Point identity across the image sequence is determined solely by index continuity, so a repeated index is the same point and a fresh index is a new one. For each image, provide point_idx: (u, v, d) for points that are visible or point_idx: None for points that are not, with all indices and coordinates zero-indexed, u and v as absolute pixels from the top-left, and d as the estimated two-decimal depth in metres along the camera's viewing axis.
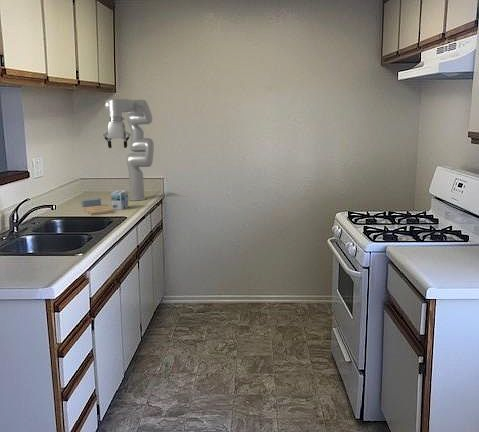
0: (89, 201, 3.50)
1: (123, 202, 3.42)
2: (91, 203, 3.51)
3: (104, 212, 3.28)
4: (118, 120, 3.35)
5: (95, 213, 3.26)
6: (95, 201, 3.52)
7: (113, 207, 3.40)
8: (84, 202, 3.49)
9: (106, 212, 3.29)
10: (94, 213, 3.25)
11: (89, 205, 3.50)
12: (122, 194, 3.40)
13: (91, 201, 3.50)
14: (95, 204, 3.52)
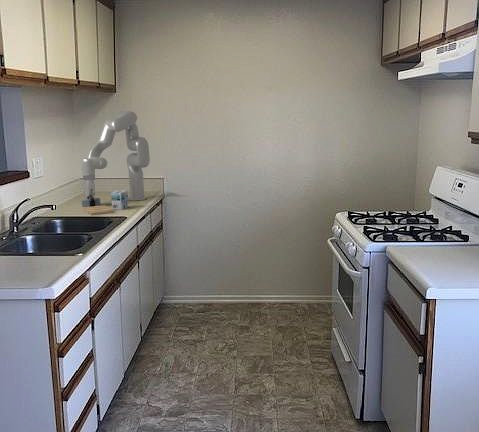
0: (88, 201, 3.50)
1: (123, 202, 3.42)
2: None
3: (104, 212, 3.28)
4: None
5: (95, 213, 3.26)
6: None
7: (113, 207, 3.40)
8: (83, 202, 3.49)
9: (106, 212, 3.29)
10: (94, 213, 3.25)
11: (88, 205, 3.50)
12: (122, 194, 3.40)
13: None
14: None
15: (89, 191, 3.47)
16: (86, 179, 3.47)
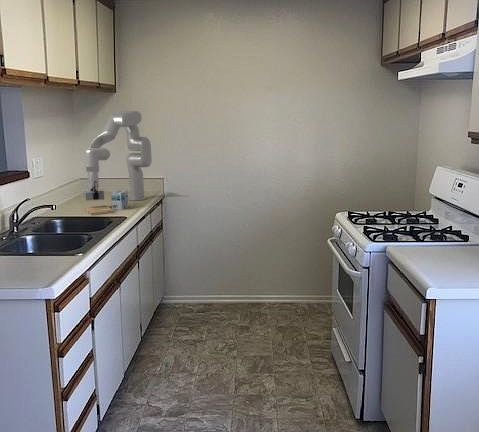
0: (92, 193, 3.38)
1: (123, 202, 3.42)
2: None
3: (104, 212, 3.28)
4: None
5: (95, 213, 3.26)
6: (98, 193, 3.39)
7: (113, 207, 3.40)
8: (86, 194, 3.37)
9: (106, 212, 3.29)
10: (94, 213, 3.25)
11: (92, 197, 3.38)
12: (122, 194, 3.40)
13: None
14: None
15: (93, 183, 3.35)
16: (90, 171, 3.35)
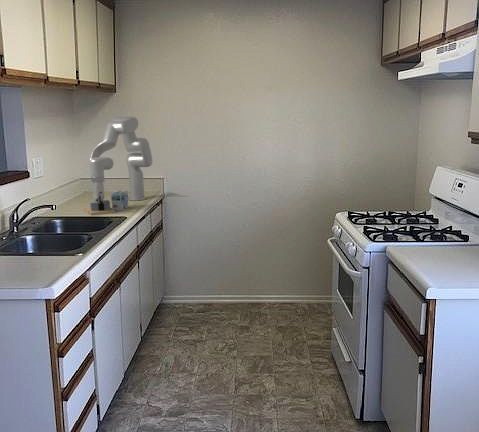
0: (97, 203, 3.29)
1: (123, 202, 3.42)
2: None
3: (104, 212, 3.28)
4: None
5: (95, 213, 3.26)
6: (104, 203, 3.30)
7: (113, 207, 3.40)
8: (92, 204, 3.28)
9: (106, 212, 3.29)
10: (94, 213, 3.25)
11: (97, 207, 3.29)
12: (122, 194, 3.40)
13: None
14: (104, 206, 3.31)
15: (98, 194, 3.26)
16: (95, 181, 3.26)
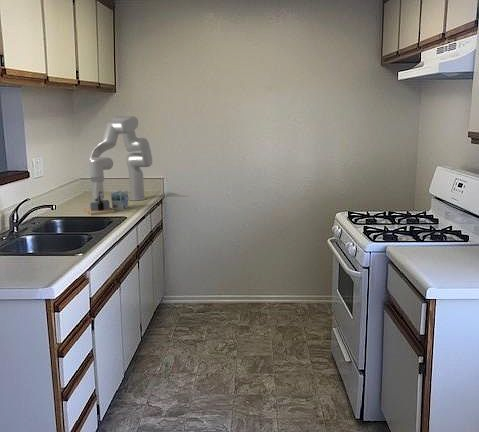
0: (97, 203, 3.30)
1: (123, 202, 3.42)
2: None
3: (104, 212, 3.28)
4: None
5: (95, 213, 3.26)
6: (103, 203, 3.31)
7: (113, 207, 3.40)
8: (92, 204, 3.29)
9: (106, 212, 3.29)
10: (94, 213, 3.25)
11: (97, 207, 3.30)
12: (122, 194, 3.40)
13: None
14: None
15: (98, 193, 3.27)
16: (94, 181, 3.27)
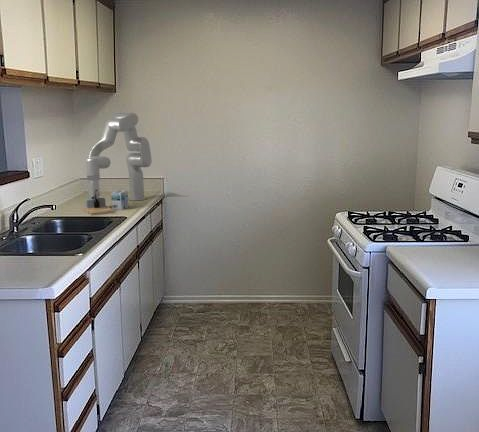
0: (93, 201, 3.39)
1: (123, 202, 3.42)
2: None
3: (104, 212, 3.28)
4: None
5: (95, 213, 3.26)
6: (99, 201, 3.41)
7: (113, 207, 3.40)
8: (88, 202, 3.38)
9: (106, 212, 3.29)
10: (94, 213, 3.25)
11: (93, 205, 3.40)
12: (122, 194, 3.40)
13: None
14: None
15: (93, 192, 3.36)
16: (90, 179, 3.36)
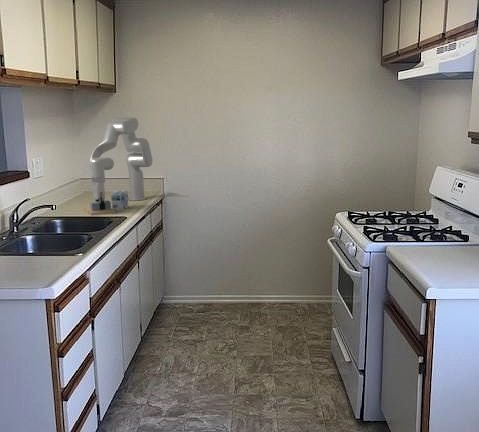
0: (98, 204, 3.28)
1: (123, 202, 3.42)
2: None
3: (104, 212, 3.28)
4: None
5: (95, 213, 3.26)
6: (105, 204, 3.29)
7: (113, 207, 3.40)
8: (93, 205, 3.27)
9: (106, 212, 3.29)
10: (94, 213, 3.25)
11: (98, 208, 3.28)
12: (122, 194, 3.40)
13: None
14: (105, 207, 3.30)
15: (99, 194, 3.25)
16: (95, 181, 3.25)
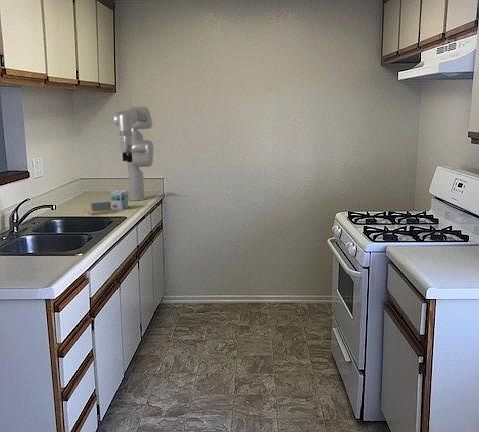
0: (98, 204, 3.28)
1: (123, 202, 3.42)
2: (100, 206, 3.29)
3: (104, 212, 3.28)
4: None
5: (95, 213, 3.26)
6: (105, 204, 3.29)
7: (113, 207, 3.40)
8: (93, 205, 3.27)
9: (106, 212, 3.29)
10: (94, 213, 3.25)
11: (98, 208, 3.28)
12: (122, 194, 3.40)
13: (100, 204, 3.28)
14: (105, 207, 3.30)
15: (126, 147, 3.41)
16: (123, 135, 3.41)
